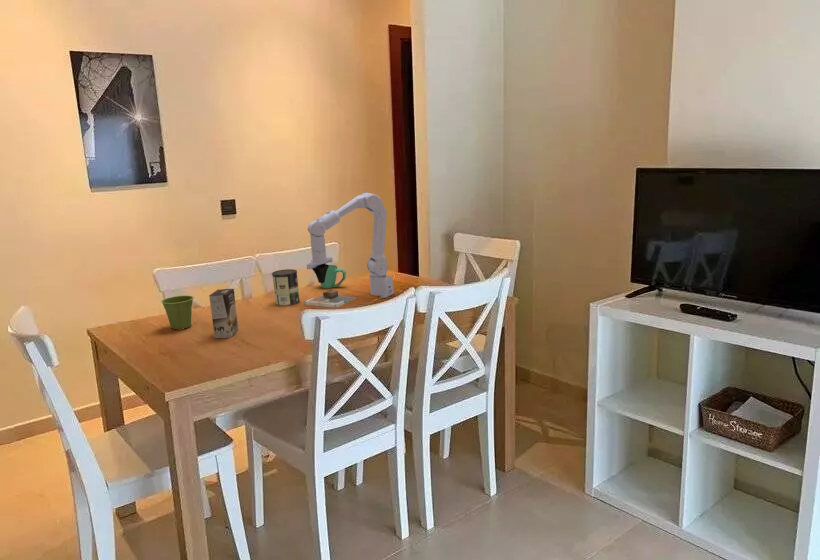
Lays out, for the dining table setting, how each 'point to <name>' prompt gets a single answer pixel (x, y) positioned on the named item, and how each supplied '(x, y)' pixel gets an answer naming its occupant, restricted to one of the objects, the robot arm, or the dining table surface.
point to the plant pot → (179, 311)
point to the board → (329, 301)
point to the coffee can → (286, 287)
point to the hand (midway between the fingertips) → (321, 282)
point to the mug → (332, 277)
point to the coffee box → (224, 313)
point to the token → (330, 294)
